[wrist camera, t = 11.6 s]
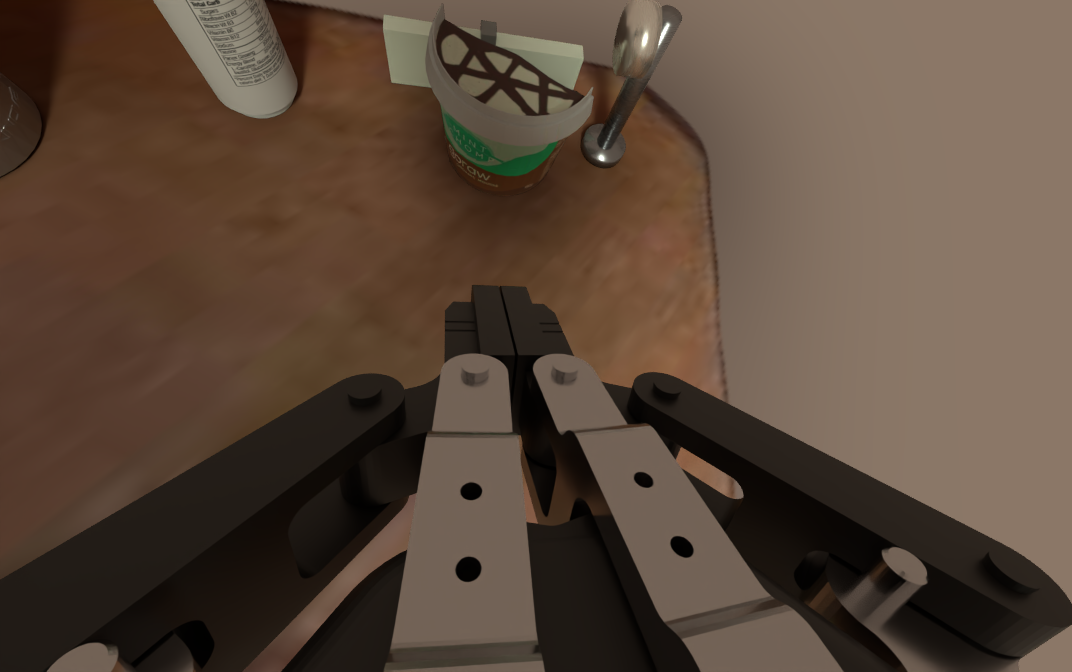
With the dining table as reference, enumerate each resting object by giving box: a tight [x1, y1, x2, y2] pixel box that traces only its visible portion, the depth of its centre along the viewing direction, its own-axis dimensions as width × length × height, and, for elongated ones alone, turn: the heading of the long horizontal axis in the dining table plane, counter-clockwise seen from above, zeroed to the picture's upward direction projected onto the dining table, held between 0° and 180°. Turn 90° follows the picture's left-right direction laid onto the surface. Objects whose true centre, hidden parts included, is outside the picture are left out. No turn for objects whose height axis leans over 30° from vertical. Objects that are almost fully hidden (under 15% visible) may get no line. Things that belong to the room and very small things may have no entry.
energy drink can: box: [153, 0, 298, 118], centre depth 27 cm, size 6×6×15 cm
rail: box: [383, 15, 584, 90], centre depth 36 cm, size 16×1×6 cm, turn 92°
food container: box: [425, 4, 594, 196], centre depth 32 cm, size 12×6×10 cm, turn 65°
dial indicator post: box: [581, 0, 682, 168], centre depth 33 cm, size 4×4×13 cm
